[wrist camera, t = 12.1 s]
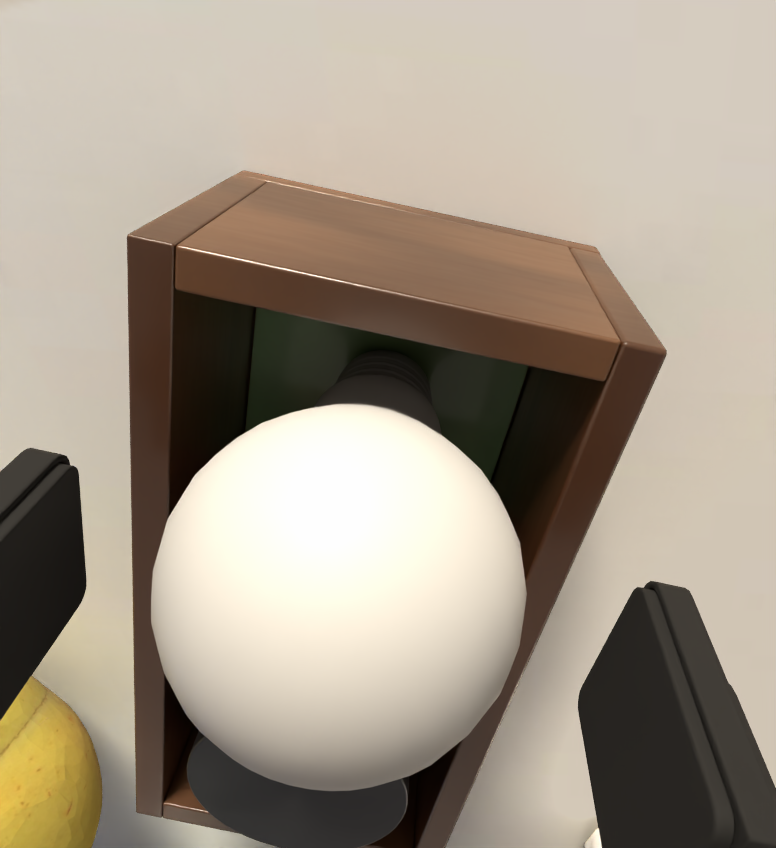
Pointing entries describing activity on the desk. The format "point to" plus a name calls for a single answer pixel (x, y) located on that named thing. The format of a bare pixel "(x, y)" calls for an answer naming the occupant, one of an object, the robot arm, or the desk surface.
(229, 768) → the tin
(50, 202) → the desk surface
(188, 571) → the lightbulb
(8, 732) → the fruit
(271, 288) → the compartment box
